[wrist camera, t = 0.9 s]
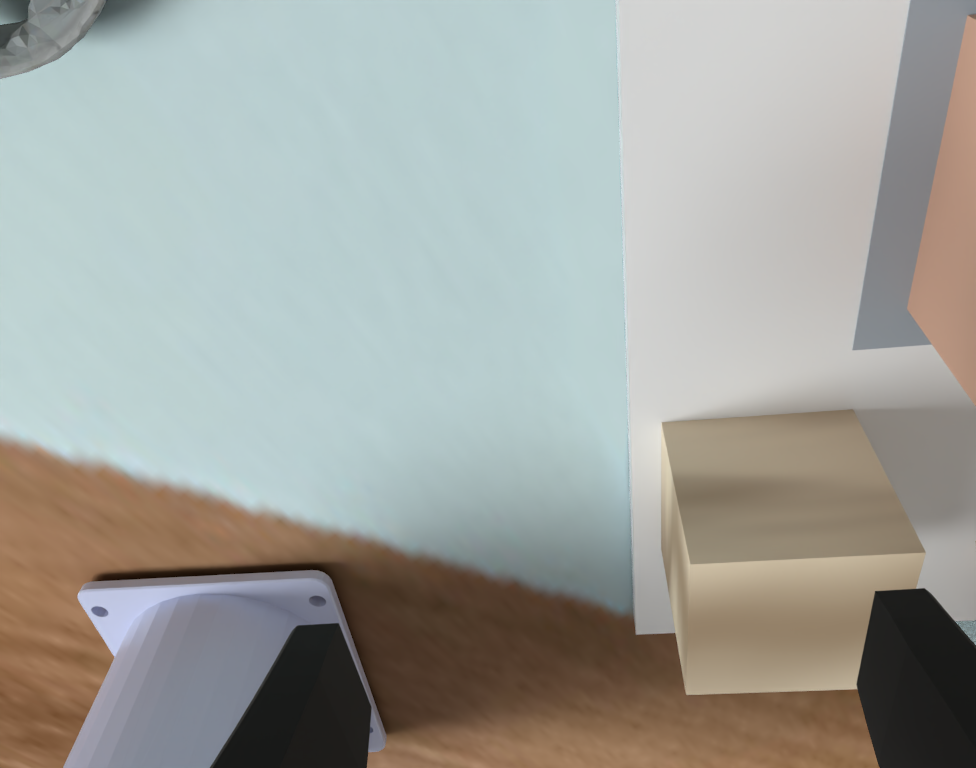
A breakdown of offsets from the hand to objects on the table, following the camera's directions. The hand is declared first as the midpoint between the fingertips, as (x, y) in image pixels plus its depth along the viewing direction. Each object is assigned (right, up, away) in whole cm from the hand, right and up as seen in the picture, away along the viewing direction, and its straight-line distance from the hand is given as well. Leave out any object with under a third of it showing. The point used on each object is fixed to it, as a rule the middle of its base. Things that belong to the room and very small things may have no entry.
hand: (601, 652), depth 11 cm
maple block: (+5, +1, +10) cm, 11 cm away
